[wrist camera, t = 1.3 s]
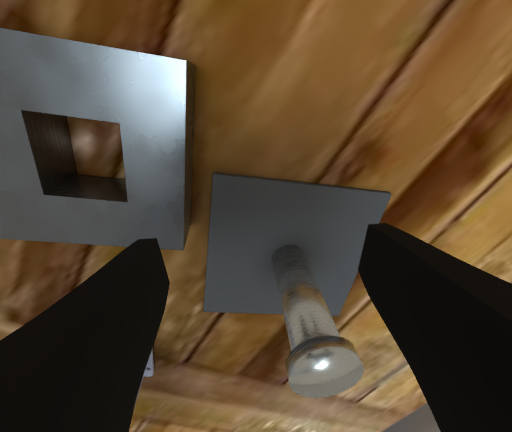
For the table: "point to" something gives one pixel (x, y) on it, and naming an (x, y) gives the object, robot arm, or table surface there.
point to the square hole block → (60, 150)
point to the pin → (311, 331)
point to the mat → (283, 238)
